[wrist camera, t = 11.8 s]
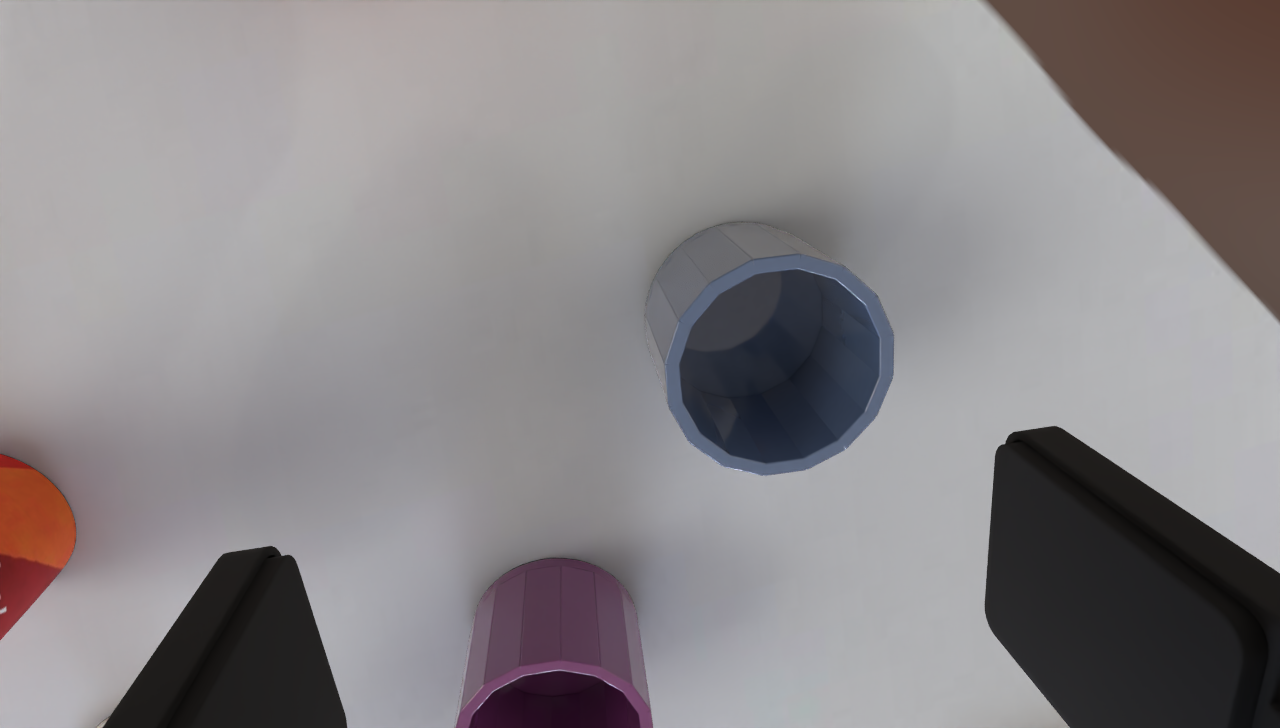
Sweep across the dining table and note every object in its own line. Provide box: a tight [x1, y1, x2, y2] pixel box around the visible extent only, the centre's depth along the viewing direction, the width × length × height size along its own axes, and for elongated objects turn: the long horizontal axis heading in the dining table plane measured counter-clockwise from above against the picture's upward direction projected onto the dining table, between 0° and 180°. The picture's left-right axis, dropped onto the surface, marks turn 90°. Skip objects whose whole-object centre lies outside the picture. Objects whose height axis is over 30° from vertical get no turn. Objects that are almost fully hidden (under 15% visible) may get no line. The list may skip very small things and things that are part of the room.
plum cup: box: [454, 558, 653, 728], centre depth 29 cm, size 7×7×6 cm
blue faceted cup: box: [645, 222, 894, 476], centre depth 25 cm, size 7×7×6 cm
